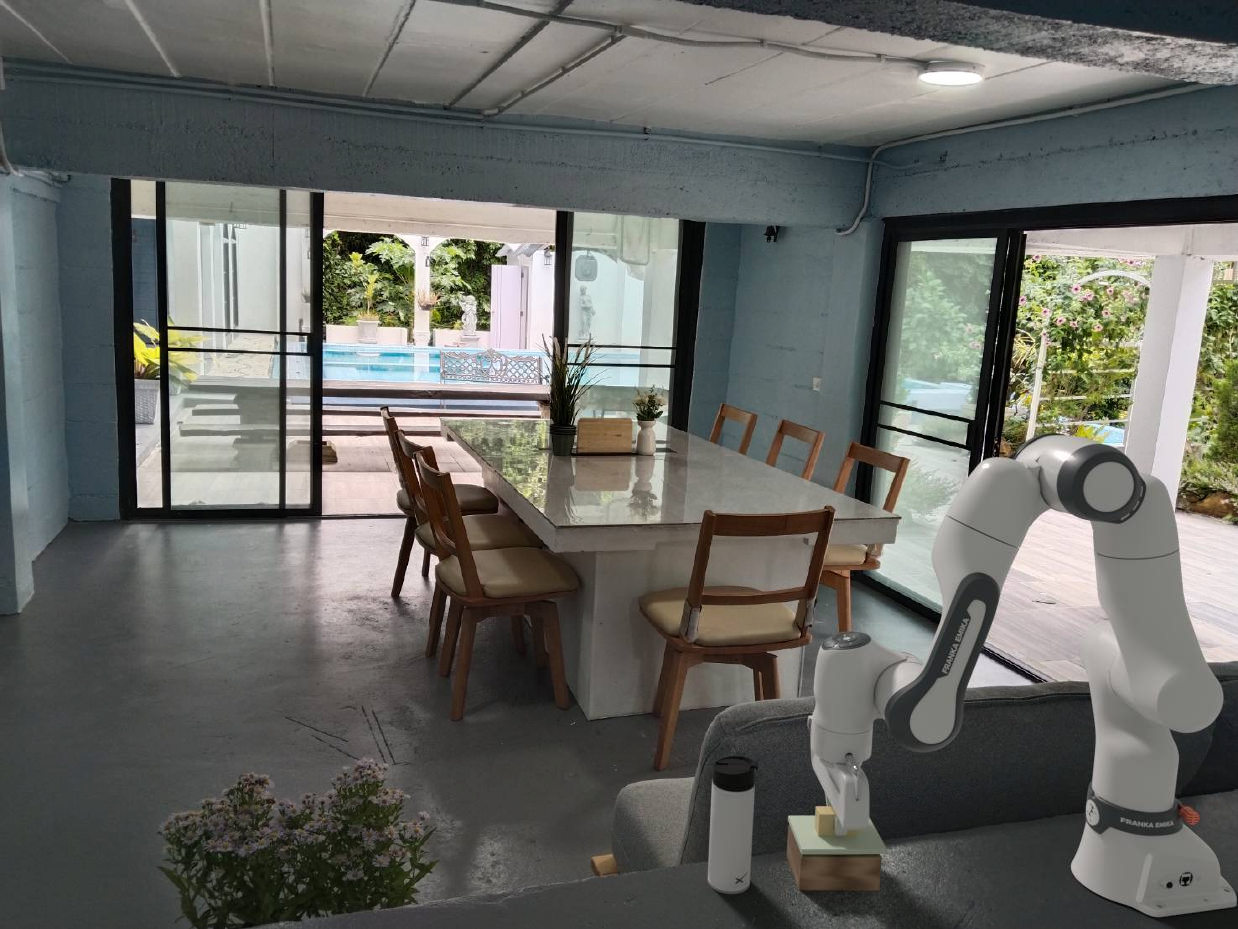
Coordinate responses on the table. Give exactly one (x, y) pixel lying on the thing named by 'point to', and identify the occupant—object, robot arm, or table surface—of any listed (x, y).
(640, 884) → the table surface
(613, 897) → the table surface
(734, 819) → the travel mug
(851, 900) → the table surface
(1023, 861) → the table surface
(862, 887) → the walnut box
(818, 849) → the lid
